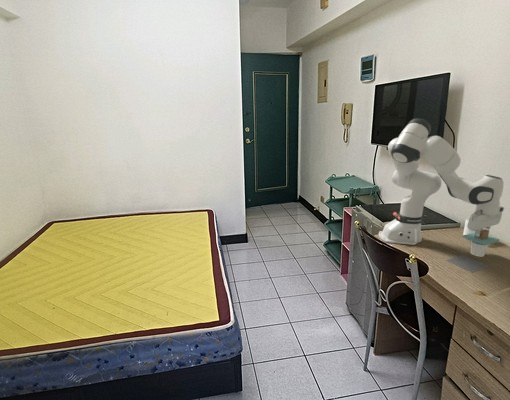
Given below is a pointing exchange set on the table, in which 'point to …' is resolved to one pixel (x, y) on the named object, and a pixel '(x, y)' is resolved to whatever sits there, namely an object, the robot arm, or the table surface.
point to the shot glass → (478, 249)
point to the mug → (466, 230)
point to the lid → (481, 237)
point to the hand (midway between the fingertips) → (481, 235)
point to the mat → (467, 263)
